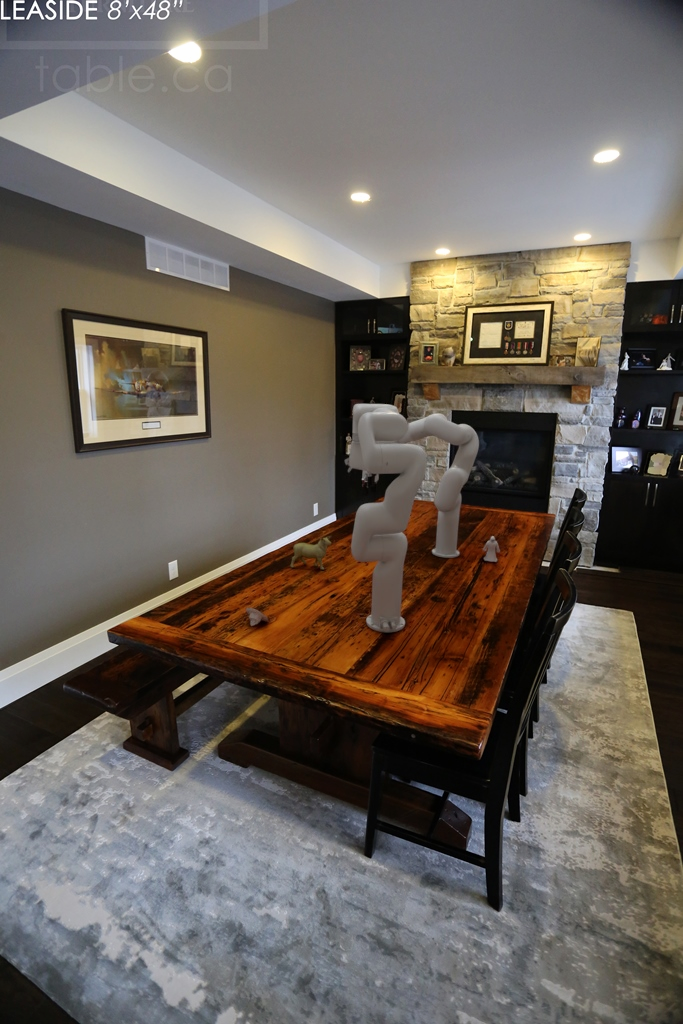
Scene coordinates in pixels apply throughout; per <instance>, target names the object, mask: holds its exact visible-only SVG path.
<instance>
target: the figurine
mask: <svg viewBox="0 0 683 1024" xmlns="http://www.w3.org/2000/svg"><path fill="white" fill-rule="evenodd" d="M482 551H483V552H486V554H485V556H484V557H483V560H484V561H485V562H495V563H498V558H497V554H496V553H498V554H499V553H501V550H500V547H499V543H498V541H497V540H496V538H495V536H493V535H492V536H490V539H489V540H487V542H486V543H485V544H484V546H483V548H482Z"/></svg>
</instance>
